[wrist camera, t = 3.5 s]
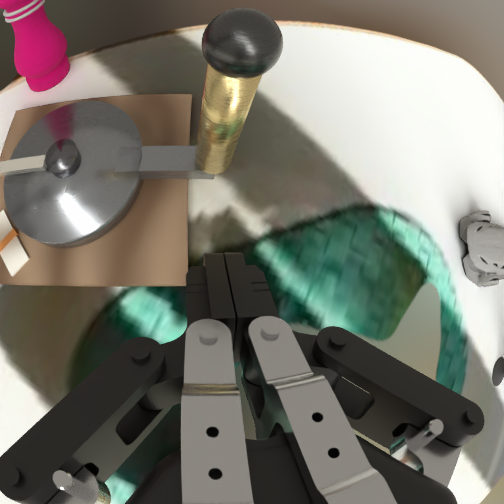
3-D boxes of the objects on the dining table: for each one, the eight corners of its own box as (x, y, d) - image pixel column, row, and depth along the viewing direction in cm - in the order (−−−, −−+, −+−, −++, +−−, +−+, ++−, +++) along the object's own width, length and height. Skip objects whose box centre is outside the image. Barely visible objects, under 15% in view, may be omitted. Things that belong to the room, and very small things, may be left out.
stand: (-13, 283, 21) (-23, 281, 19) (20, 117, 25) (14, 108, 23) (188, 285, 26) (188, 283, 24) (191, 102, 30) (192, 91, 28)
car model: (520, 284, 39) (539, 281, 34) (455, 288, 34) (482, 283, 29) (513, 229, 41) (531, 222, 36) (446, 210, 36) (470, 200, 31)
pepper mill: (55, 53, 27) (28, -56, 8) (83, 64, 28) (59, -61, 9) (18, 86, 25) (-28, -20, 6) (43, 101, 26) (-7, -23, 7)
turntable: (-9, 250, 20) (-131, 186, 4) (19, 125, 23) (-43, 19, 6) (235, 246, 25) (321, 135, 9) (230, 112, 28) (276, -30, 12)
